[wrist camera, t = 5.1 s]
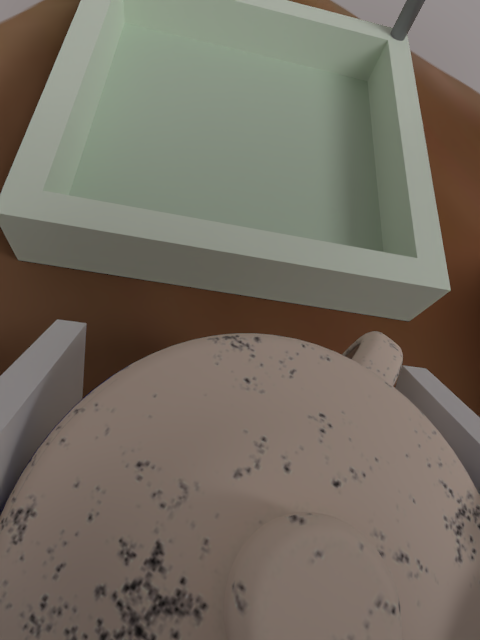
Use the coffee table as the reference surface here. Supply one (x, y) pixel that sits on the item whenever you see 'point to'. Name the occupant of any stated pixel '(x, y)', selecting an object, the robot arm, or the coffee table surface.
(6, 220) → the mint green square tray
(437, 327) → the coffee table surface
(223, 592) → the teacup with lid
